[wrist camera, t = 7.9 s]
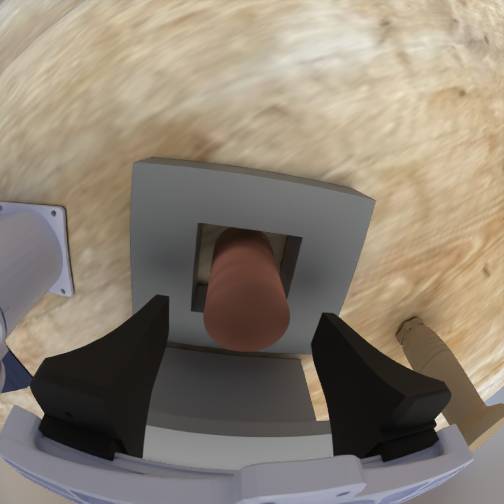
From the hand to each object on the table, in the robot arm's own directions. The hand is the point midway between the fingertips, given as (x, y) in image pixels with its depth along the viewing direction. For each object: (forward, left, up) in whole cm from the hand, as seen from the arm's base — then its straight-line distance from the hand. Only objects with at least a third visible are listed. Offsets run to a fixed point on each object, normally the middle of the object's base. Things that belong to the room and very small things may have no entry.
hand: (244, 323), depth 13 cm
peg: (0, 0, -8) cm, 8 cm away
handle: (+18, -6, -8) cm, 21 cm away
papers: (-44, -20, -8) cm, 49 cm away
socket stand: (0, -3, -8) cm, 8 cm away
